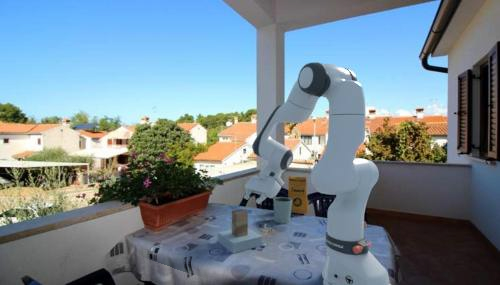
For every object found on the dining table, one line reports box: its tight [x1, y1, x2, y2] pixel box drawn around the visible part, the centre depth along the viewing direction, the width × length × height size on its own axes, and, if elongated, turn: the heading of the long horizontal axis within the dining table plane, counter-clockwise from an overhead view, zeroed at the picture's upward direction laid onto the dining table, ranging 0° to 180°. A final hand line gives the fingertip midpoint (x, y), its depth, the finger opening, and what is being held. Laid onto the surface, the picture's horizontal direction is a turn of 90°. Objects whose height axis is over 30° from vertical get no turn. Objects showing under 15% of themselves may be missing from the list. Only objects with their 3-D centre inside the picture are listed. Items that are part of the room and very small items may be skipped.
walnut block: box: [231, 208, 249, 237], centre depth 112 cm, size 5×5×10 cm
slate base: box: [217, 228, 263, 254], centre depth 112 cm, size 14×14×4 cm
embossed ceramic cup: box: [272, 196, 292, 225], centre depth 142 cm, size 10×10×12 cm
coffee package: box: [287, 175, 309, 215], centre depth 158 cm, size 10×12×22 cm
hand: (251, 200), depth 115 cm, fingers open, 8 cm apart
